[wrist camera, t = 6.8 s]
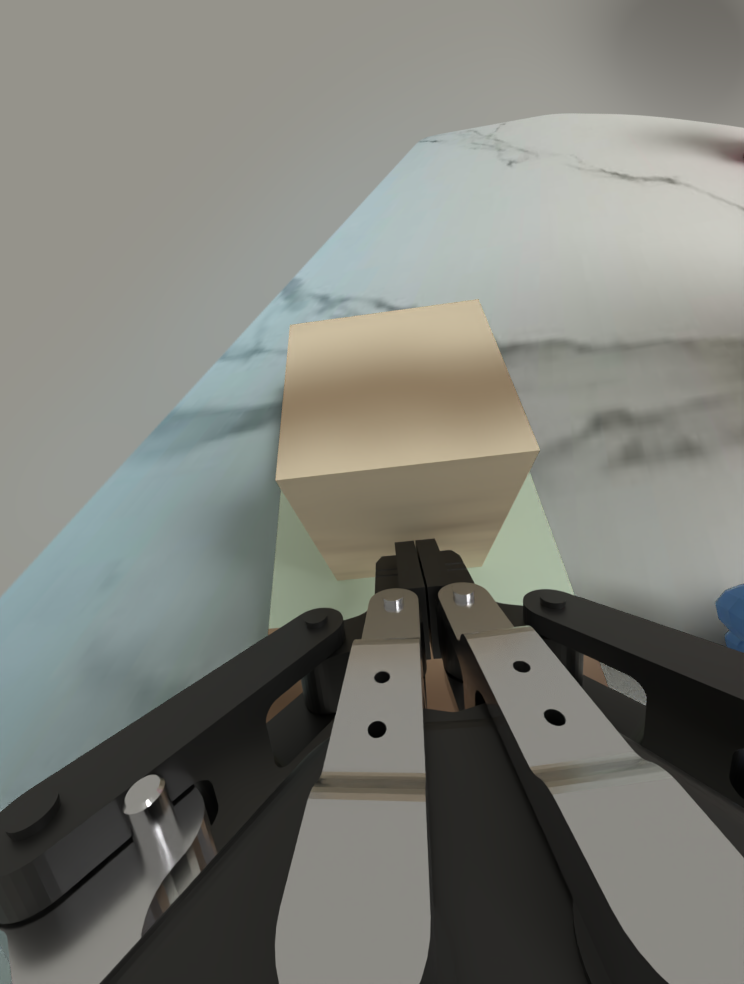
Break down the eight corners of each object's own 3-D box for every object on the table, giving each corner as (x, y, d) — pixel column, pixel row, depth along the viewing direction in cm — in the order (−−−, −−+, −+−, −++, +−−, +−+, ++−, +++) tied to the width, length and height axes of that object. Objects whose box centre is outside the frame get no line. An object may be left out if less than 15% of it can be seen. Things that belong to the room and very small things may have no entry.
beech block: (335, 465, 21) (289, 325, 13) (453, 451, 20) (478, 299, 13) (337, 580, 17) (275, 480, 9) (481, 566, 17) (540, 450, 9)
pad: (295, 479, 24) (283, 457, 21) (505, 456, 23) (514, 431, 21) (285, 637, 18) (268, 628, 16) (557, 614, 18) (577, 601, 15)
